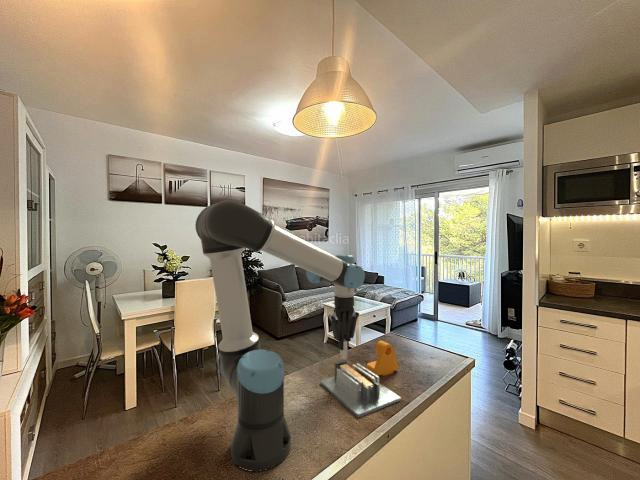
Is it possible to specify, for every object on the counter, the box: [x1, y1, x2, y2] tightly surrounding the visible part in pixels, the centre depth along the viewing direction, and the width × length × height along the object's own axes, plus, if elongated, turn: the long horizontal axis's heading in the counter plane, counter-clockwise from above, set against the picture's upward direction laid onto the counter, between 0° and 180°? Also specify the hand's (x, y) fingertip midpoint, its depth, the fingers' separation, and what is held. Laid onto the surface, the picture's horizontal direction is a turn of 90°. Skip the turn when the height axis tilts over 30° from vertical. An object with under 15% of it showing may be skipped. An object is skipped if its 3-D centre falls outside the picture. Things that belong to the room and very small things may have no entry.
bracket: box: [366, 340, 399, 377], centre depth 114 cm, size 11×7×12 cm, turn 120°
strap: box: [340, 363, 376, 390], centre depth 99 cm, size 17×3×1 cm, turn 30°
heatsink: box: [319, 360, 402, 419], centre depth 98 cm, size 23×18×6 cm
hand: (343, 357), depth 105 cm, fingers closed
